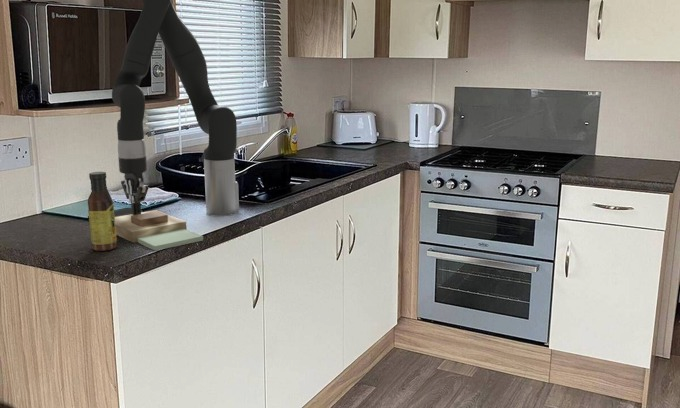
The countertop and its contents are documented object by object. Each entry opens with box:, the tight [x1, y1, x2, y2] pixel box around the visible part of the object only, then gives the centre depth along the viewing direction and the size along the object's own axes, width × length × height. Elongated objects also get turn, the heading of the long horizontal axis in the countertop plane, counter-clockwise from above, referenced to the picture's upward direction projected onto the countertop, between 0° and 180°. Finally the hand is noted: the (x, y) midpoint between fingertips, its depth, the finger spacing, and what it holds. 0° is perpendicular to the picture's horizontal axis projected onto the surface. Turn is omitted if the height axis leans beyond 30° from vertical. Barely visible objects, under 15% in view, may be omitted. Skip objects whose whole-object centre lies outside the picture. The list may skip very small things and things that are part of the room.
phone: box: [87, 206, 143, 219], centre depth 210 cm, size 8×1×15 cm
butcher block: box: [115, 209, 188, 244], centre depth 193 cm, size 16×18×3 cm
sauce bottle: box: [87, 171, 118, 252], centre depth 175 cm, size 6×6×20 cm
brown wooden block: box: [131, 210, 169, 227], centre depth 190 cm, size 8×6×2 cm
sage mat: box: [137, 229, 204, 251], centre depth 183 cm, size 14×10×1 cm
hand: (136, 214), depth 196 cm, fingers closed
